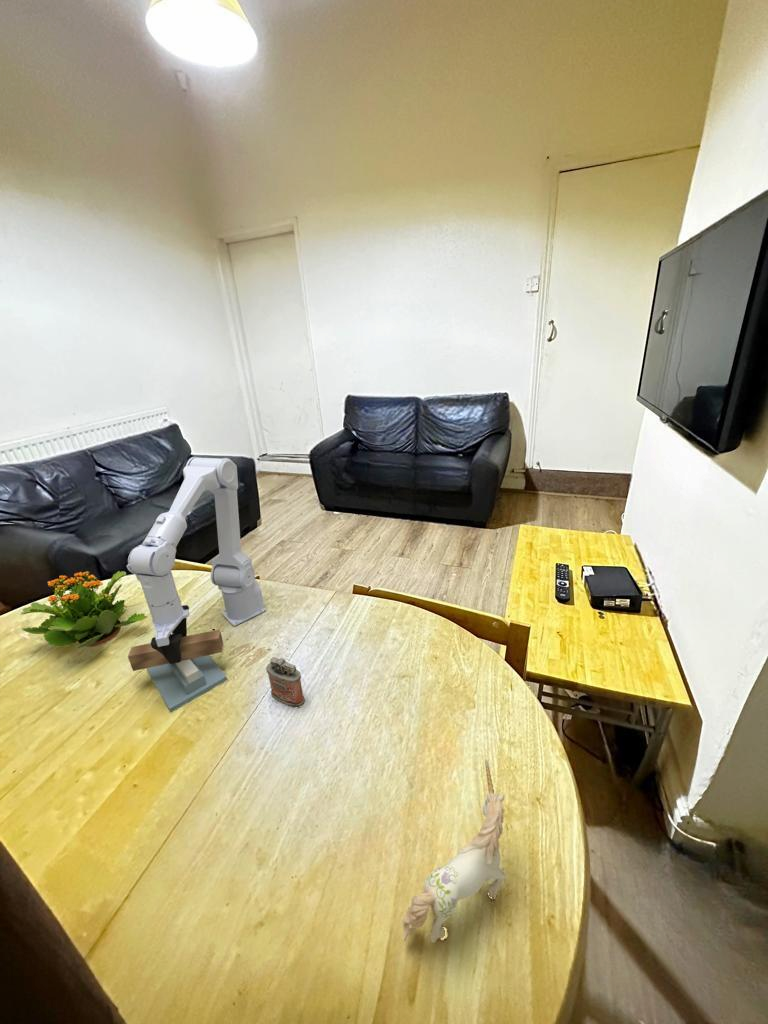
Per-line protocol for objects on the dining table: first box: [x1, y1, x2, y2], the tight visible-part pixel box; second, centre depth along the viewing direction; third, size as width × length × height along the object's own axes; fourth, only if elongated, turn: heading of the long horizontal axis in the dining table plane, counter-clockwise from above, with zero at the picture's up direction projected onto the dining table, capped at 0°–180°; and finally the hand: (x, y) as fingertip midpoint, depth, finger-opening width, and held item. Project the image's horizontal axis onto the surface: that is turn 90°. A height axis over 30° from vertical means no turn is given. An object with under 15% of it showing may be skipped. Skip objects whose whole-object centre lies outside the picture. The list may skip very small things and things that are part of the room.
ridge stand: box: [146, 655, 228, 713], centre depth 92 cm, size 16×12×6 cm
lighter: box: [265, 656, 306, 708], centre depth 84 cm, size 8×3×10 cm, turn 62°
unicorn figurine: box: [401, 758, 506, 944], centre depth 53 cm, size 7×20×13 cm, turn 137°
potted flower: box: [20, 570, 148, 649], centre depth 103 cm, size 25×24×18 cm
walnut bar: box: [127, 629, 224, 672], centre depth 90 cm, size 18×3×4 cm, turn 106°
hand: (178, 649), depth 90 cm, fingers open, 7 cm apart
